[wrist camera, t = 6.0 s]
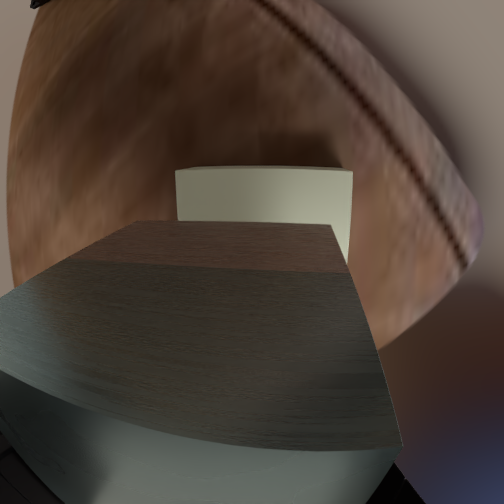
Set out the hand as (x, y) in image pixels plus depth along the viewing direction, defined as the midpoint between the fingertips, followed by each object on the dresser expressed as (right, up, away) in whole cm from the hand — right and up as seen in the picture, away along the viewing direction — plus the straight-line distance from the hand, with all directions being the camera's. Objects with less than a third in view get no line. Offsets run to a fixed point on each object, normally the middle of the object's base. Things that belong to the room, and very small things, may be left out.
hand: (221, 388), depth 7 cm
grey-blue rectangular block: (0, 0, +1) cm, 2 cm away
